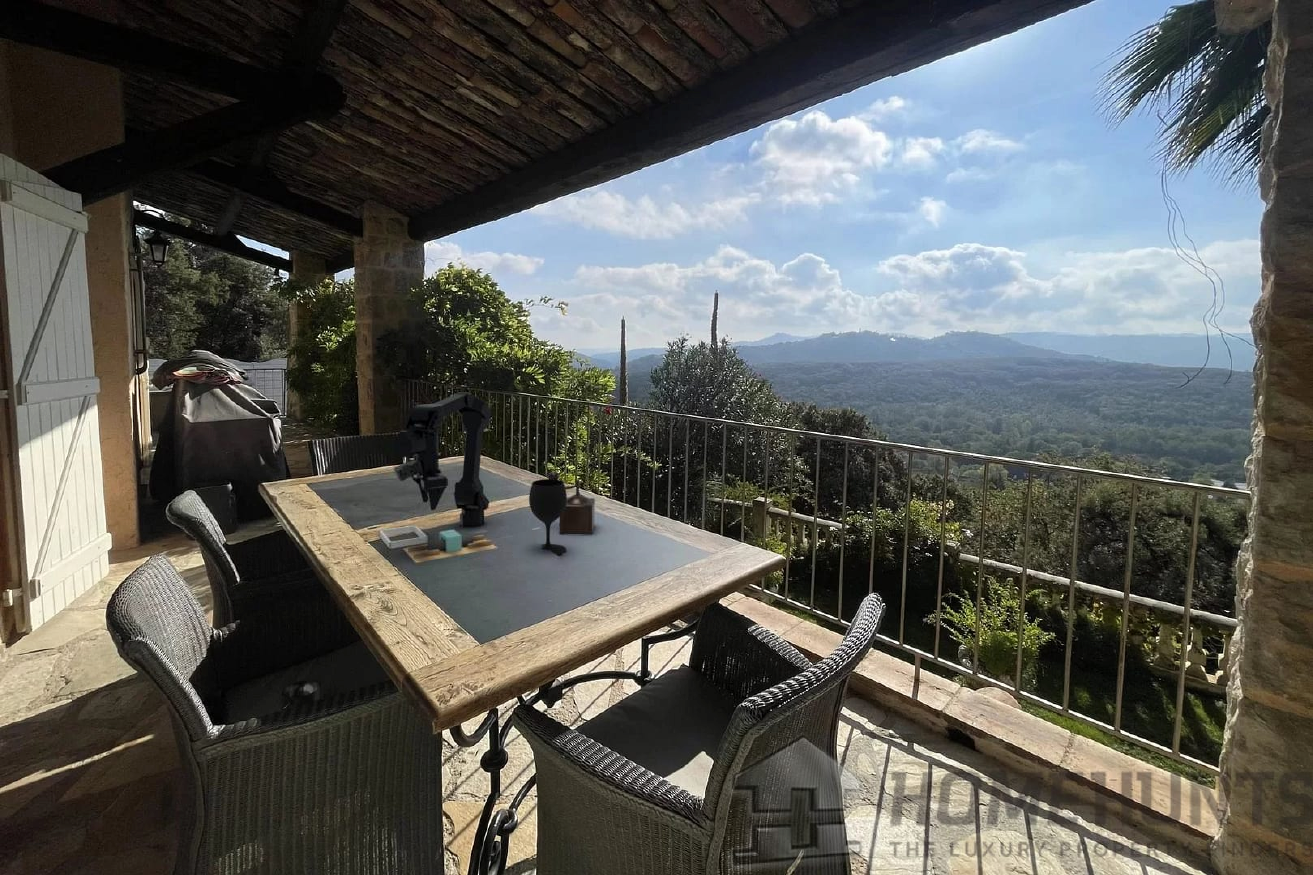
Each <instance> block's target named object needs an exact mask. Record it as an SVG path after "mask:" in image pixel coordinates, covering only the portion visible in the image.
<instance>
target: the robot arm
mask: <svg viewBox="0 0 1313 875" xmlns="http://www.w3.org/2000/svg"><path fill="white" fill-rule="evenodd" d="M456 412H458V413H459V415H460V416H461V423H462V425H463V428H464V429H465V441H464V442H465V444H464V454H463V455H464V457H463V467H462V469H463V470H462V476H461V479H459V481H456V482H455V484H454V493H453V498H454V502H455V506H456V509H457V510H461V512H460V514H459V525H460V526H461V527H462V528H477V527H481V526H482V525H485V511H487V510H488V508H489V507H490V506H489V505H490V501H489V499H488V498H487V496H486V494H484V485H483V483H482V481H481V479H480V470H481V469H480V468H481V457H482V445H483V433H484V431H485V430H486V428H487V427H488V426H489V424H490V420H491V415H492V410H491V409H490V407H489V406H488V405H487V404H486V403H485V402H484V401H483V400H480V399H478V398H477V397H475V395H473V394H472V393H470V392H461V391H460V392H456V393H454V394H453V395H450V396H448V397H446V398H444V399H442V400H439V401H437V402H435V403H430V404H428V403H427V404H426V403H424V404H417V405H415V406H413V407H412V408H411V411H410V412H409V415H408V417H407V420H406V423H405V425H404V426H403V430H400V431H399V432H398V433H399V435H398V436H396V437H395V438H394V440H393V443H392V448H393V451H394V454H396V456H398V457H400V458H407V457H410V456H413V459H412V460H410V461H406V462H404V463H402V464H400V465H398V466H394V468H393V470H394V473H395V475H396V477H397V479H398V480H399V481H400V482H403V481H406V480H407V479H409V478H410V479H411V480H412V481H413V482H415V483H416V484H417V486H418V489H419V493H420V496H421V500H422V502H423V503H429V507H430V510H431V511H435V510H436V509H437V507H438V504H439V502H440V500H441V498H442V496H443V494H444V492H445V490H446V489H447V487H448V486H449V479H448V478H447V477H446V476H445V475H444V474H442V472H441V471H442V470H441V468H440V466H439V464H440V463H439V462H440V461H439V460H441V454H439V435H438V434H442V433H443V430H442V429H441V428H439V426H440V425H441V424H443V423H444V421H445V418H446V417H448V416H450V415H452V414H454V413H456Z"/></svg>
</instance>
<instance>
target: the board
mask: <svg viewBox="0 0 1313 875" xmlns="http://www.w3.org/2000/svg"><path fill="white" fill-rule="evenodd" d="M472 536H473V540H474V542H473V543H470V544H468V546H462V550H460V551H455V552H449V553H447V552H446V549H445V550H439V549H435V550H429V551H428V550H427V543H423V544H417V545H411V546H407V547H405V548H403V550H404V552H406V554H407V555H408V556H409V557H410V559H412V560H413V562H414V563H416V564H418V563H422V562H428V561H433V560H439V559H445V558H451V557H457V556H460V555H467V554H472V553H477V552H483V551H488V550H493V549H498V547H497V546H496V545H494V544H493V543H492V542H493V541H492V540H491V539H487V538H485V535H484V534H478V535H472Z"/></svg>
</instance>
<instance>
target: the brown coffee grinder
mask: <svg viewBox="0 0 1313 875" xmlns="http://www.w3.org/2000/svg"><path fill="white" fill-rule="evenodd" d="M559 478H560V474H559V472H557V471H552V472H549V473H548V474H547V479H554V480H559ZM574 482H575V484H574V485H570V486H568V485H567V486H565V489H566V490H571V489H573V488H575V494H572V495H571V496H570V497H568V496H567V502H566V507H565V510H564V512H563V513H562V515H561V516H560V517H559V528H558V529H559V532H558V533H559V534H558V535H564V534H591V535H592V534H593V533H594V530H595V528H596V527H595V514H596V513H595V511H596V510H595V508H596V507H595V504H596V501H595V500H596V499H595V498H593V497H588V496H587V497H586V496H584V495H583V494H581V492H580V486H581V483H580V479H576V480H575V481H574ZM592 532H593V533H592Z"/></svg>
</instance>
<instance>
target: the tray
mask: <svg viewBox="0 0 1313 875" xmlns="http://www.w3.org/2000/svg"><path fill="white" fill-rule="evenodd" d="M412 532H413V533H415V534H416V535H417V536H418V537H413V538H407V539H400V540H393V541H392V540H390V538H389V537H388V536H393V535H400V534H405V533H406V534H407V533H412ZM378 536H379V538H380V539H381V540H382V542H383V543H384V544H385V545H386V546H387V548H388V549H396V548H403V547H411V546H417V545H423V544H427V542H429V541H428V539H429V537H428V535H426V534H425V532H424V531H422V530H421V529H420V528H419V527H418V526H417V525H414V524H413V525H407V526H400V527H399V526H398V527H392V528H385V529H379V530H378Z"/></svg>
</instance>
